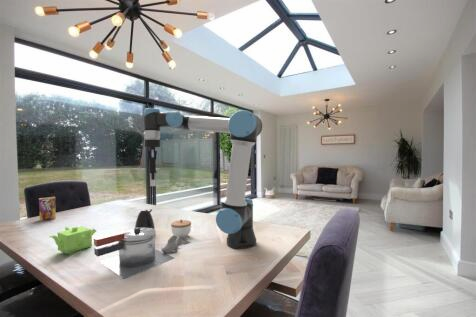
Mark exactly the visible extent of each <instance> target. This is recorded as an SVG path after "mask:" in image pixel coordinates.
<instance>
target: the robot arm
mask: <svg viewBox="0 0 476 317" xmlns="http://www.w3.org/2000/svg"><path fill="white" fill-rule="evenodd" d="M143 114H144V115H143V121H144V122H143V123H144V129H143V130H144V132H143V133H142V135H144V147H145V148H150V149H149V150H148V152H147V153H148V159H149V164H150V165H149V166H150V168H149V172H148V174H149V183H150V184H149V187H156V186H157V178H156V176H157V173H158V171H156V170H157V169H156V159H157V154H158V153H157V150H156V148H161V140H160V139H161V128H173V129H179V130H182V131H183V130H184V131H200V132H212V133H224V134H229V141H230V143H231V144H232V147H231V154H230V160H229V168H228V169H229V170H228V175H227V176H228V177H227V184H226V190H225V191H226V192H225V197H223V198H222V199H221V204H220V209H219V211H218V212H217V213H216V216H215V223H216V226H217V227H218V228H219V230H220V232H222V233H225V234H227V238H226V245H227V246H228V247H230V248H233V249H237V250H238V249H239V250H243V249H244V250H246V249H250V248H253V247H255V246H256V245H257V238H256V234H255V230H254V226H253V225H254V203H253V199H252V198H248V197H246V191H247V185H248V184H247V183H248V175H249V169H250V161H251V154H252V148H253V147H254V146H255V144H256V143H257V137H258V136H259V135H260V134H261V133H262V131H263V122H262V120H261V118H260V117H259V116H257V114H254V113H253V112H252V111H250V110H247V109H246V110H245V109H240V110H236V111H235V112H233V114H231V116H230V117H215V116H198V115H197V116H196V115H184V114H182V113H181V112H180V111H176V110H175V111H174V110H168V111H161V110H160V109H159V108H156V107H147V108H144V113H143Z"/></svg>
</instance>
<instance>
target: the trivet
mask: <svg viewBox="0 0 476 317" xmlns="http://www.w3.org/2000/svg"><path fill="white" fill-rule="evenodd" d="M174 259H175V257H174V256H172V255H169V254H168V253H164V252H163V251H160V250H158V249H156V248H155V259H154V260H153V261H152V262H151V263H149V264H147V265H144V266H140V267H133V268H127V267H122V266H121V265H120V264H119V254H118V255H115V256H112V257H108V258H106V259H103V260H99V263H100V264H102V265H103V266H105V267H106V268H107V269H109V270H110V271H112V272H114V273H115V275H118V276H119V277H120V278H122V279H123V280H125V279H128V278H131V277H132V276H136V275H137V274H139V273H143V272H144V271H147V270H149V269H152V268H154V267H157V266H159V265H162V264H165V263H167V262H169V261H172V260H174Z"/></svg>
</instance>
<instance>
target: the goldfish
mask: <svg viewBox="0 0 476 317" xmlns="http://www.w3.org/2000/svg"><path fill="white" fill-rule="evenodd" d="M190 243H191V241H189V240H187V238H186V236H185V237H182V236H177V237H176V238H175V236H174V235H172V236H171V237H170V238H169V239H168V240H167V243H166V244H165V245H164V247H162V246H161V248H160V249H161V250H162V252H163V253H165V254H171V253H177V252H178V250H181V249H182V247H180V248H179V246H181V245H187V244H190Z"/></svg>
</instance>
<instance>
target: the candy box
mask: <svg viewBox="0 0 476 317" xmlns="http://www.w3.org/2000/svg"><path fill="white" fill-rule="evenodd" d="M38 206H39V207H38V208H39V211H38V212H39V222H42V221H48V220H49V221H50V220H55V219H56V214H57V213H56V196H51V197H50V196H49V197H40V198H38Z"/></svg>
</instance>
